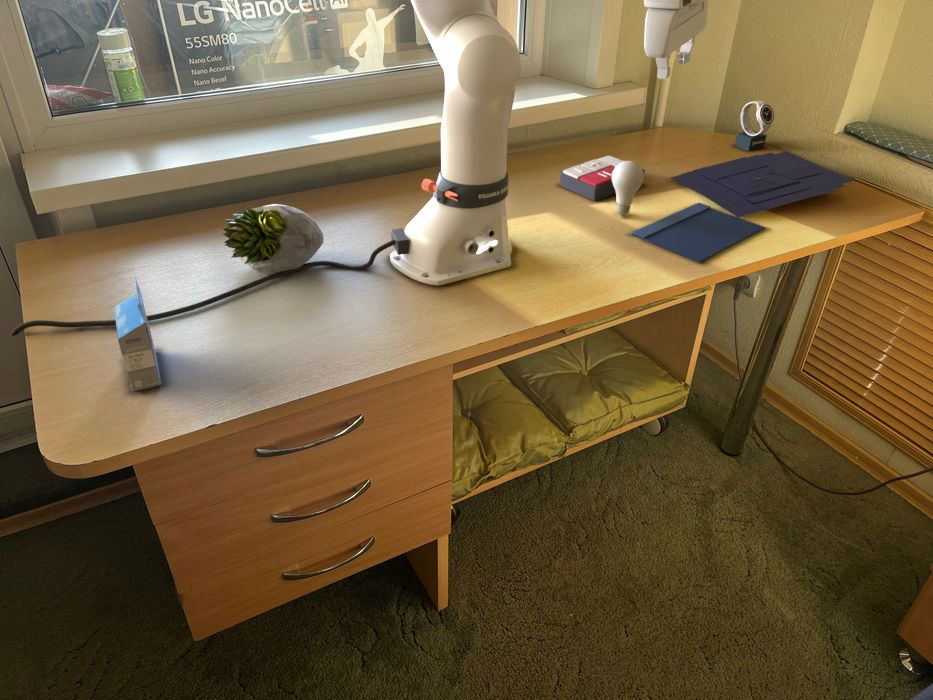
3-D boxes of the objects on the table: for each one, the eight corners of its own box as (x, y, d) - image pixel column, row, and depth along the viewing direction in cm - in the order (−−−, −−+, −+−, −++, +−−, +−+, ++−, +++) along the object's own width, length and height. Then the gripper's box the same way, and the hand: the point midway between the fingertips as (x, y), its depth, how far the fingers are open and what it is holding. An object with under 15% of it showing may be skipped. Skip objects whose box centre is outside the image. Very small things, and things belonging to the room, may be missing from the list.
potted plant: (335, 254, 119) (258, 261, 108) (296, 282, 128) (220, 291, 117) (312, 187, 120) (233, 188, 109) (274, 220, 129) (197, 223, 118)
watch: (754, 153, 173) (765, 107, 167) (729, 144, 179) (739, 99, 173) (770, 149, 176) (781, 104, 169) (744, 140, 181) (754, 96, 175)
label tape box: (127, 357, 100) (102, 280, 93) (158, 351, 101) (136, 274, 94) (131, 392, 93) (105, 312, 86) (164, 385, 94) (141, 305, 87)
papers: (859, 196, 147) (863, 179, 145) (737, 230, 141) (739, 213, 138) (779, 160, 166) (781, 144, 164) (667, 188, 160) (669, 173, 157)
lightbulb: (637, 222, 139) (646, 168, 133) (606, 220, 140) (613, 165, 134) (637, 210, 144) (646, 157, 138) (607, 207, 145) (614, 155, 139)
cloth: (699, 263, 125) (700, 259, 125) (631, 235, 134) (632, 231, 134) (764, 228, 137) (765, 225, 137) (698, 205, 146) (698, 202, 146)
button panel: (559, 169, 152) (608, 152, 160) (558, 188, 155) (607, 170, 162) (596, 184, 145) (646, 166, 152) (594, 204, 148) (643, 185, 155)
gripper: (686, -28, 128) (678, 52, 136) (640, -2, 115) (634, 85, 123) (721, -27, 125) (710, 55, 133) (677, 0, 112) (668, 89, 120)
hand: (673, 70), depth 128 cm, fingers open, 8 cm apart
